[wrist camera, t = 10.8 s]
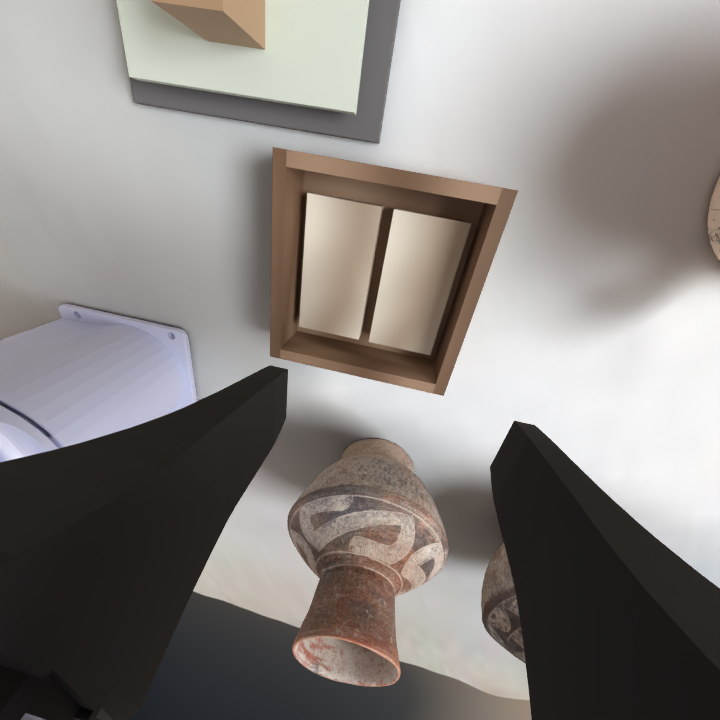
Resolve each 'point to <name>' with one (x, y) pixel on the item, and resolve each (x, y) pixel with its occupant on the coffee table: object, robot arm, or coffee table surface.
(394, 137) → the coffee table surface
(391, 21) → the mat
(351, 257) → the tea box
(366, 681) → the pottery
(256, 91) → the lid
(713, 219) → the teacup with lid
